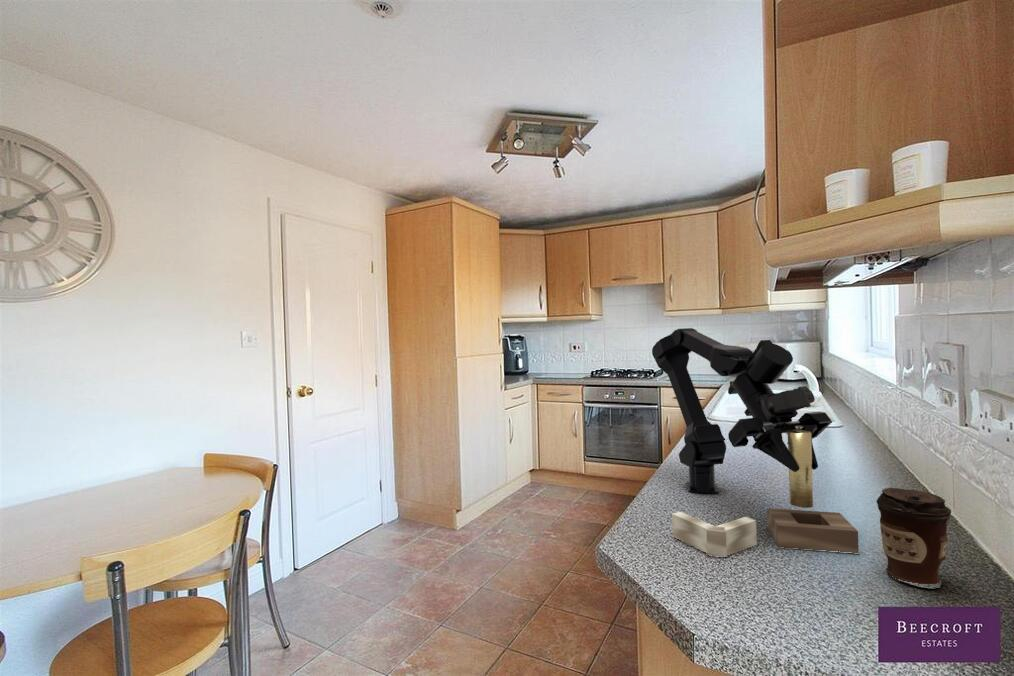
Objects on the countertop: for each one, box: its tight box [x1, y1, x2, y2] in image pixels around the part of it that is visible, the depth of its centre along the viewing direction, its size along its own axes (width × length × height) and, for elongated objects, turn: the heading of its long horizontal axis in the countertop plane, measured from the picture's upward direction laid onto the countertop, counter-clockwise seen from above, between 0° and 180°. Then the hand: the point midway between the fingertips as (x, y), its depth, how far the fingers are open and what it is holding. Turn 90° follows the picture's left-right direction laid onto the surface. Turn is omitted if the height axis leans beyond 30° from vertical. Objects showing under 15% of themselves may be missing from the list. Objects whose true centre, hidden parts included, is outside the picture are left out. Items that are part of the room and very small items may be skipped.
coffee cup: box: [876, 487, 952, 584], centre depth 71 cm, size 9×8×13 cm
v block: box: [671, 511, 758, 558], centre depth 84 cm, size 8×14×4 cm, turn 71°
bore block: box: [766, 507, 860, 553], centre depth 85 cm, size 8×12×4 cm, turn 73°
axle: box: [787, 430, 814, 509], centre depth 84 cm, size 4×4×13 cm
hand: (806, 469), depth 83 cm, fingers closed on axle, 4 cm apart
